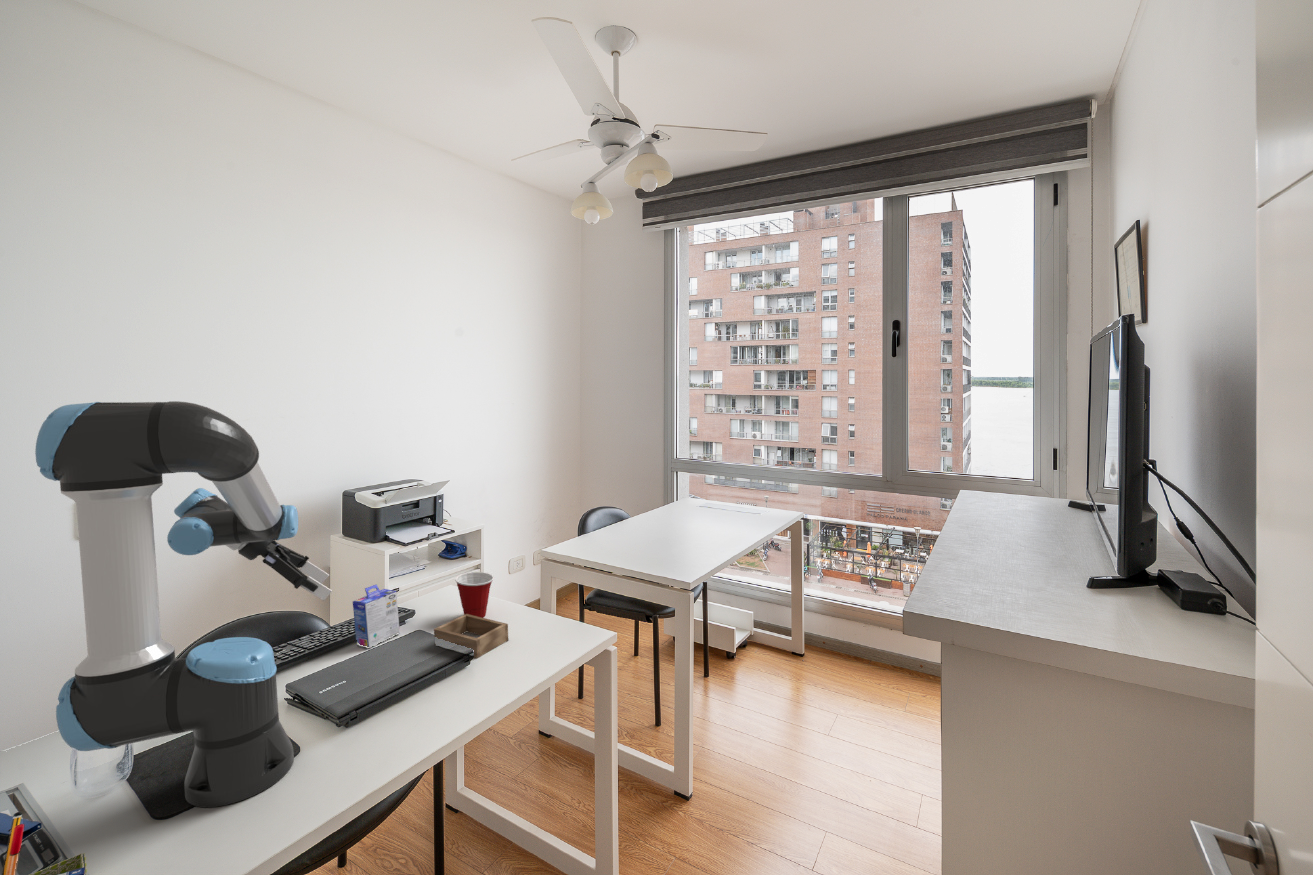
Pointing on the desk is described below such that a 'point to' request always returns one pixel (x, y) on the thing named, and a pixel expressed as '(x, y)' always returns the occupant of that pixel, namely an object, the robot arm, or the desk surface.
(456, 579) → the plastic cup
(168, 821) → the desk surface
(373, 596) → the ink cartridge box
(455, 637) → the open wooden box
